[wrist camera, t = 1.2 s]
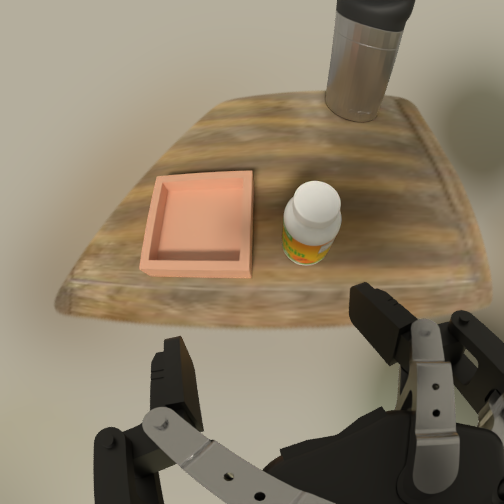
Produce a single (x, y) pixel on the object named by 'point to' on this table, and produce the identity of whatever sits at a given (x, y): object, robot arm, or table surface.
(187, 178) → the tray
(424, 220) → the table surface
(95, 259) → the table surface
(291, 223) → the supplement bottle
